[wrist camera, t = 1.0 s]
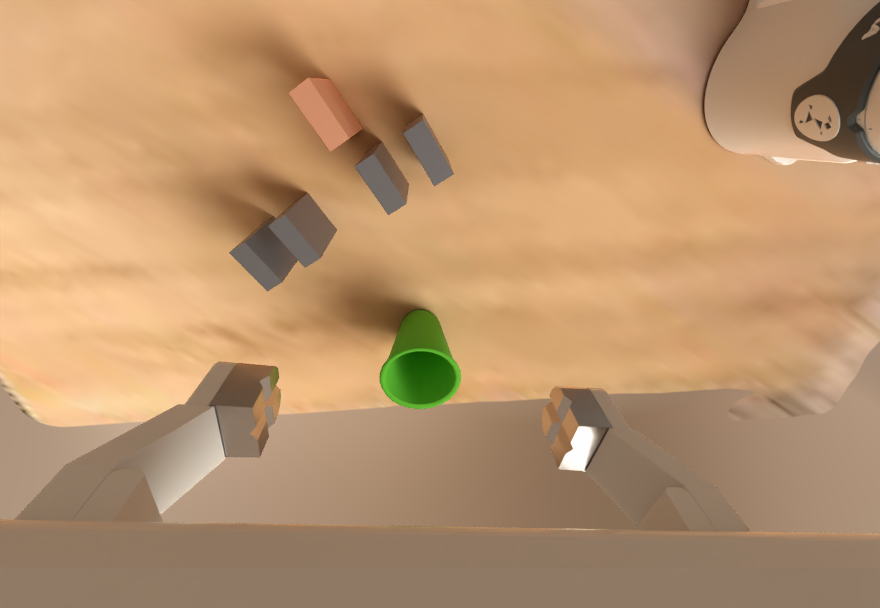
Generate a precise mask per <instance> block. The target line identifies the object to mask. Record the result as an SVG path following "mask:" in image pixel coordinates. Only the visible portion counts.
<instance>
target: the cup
mask: <svg viewBox="0 0 880 608" xmlns="http://www.w3.org/2000/svg"><path fill="white" fill-rule="evenodd" d="M460 381H461V373H460V369H459V367H458V365H457V363H456V362H455V361H454V360H453V358H452V355H451V353H450V350H449V347H448V345H447V342H446V339H445V336H444V334H443V331H442V328H441V326H440V323H439V321H438V319H437V317H436V316H435V315H433V314H432V313H431V312H428V311H426V310H416V311H413V312H410V313H409V314H408V315H406V316H405V317H404V319H403V320H402V323H401V326H400V328H399V331H398V334H397V337H396V339H395V342H394V345H393V347H392V350H391V353H390V356H389V358H388V360H387V361H386V362H385V363H384V365H383V366H382V369H381V372H380V384H381V387H382V389H383V391H384V392H385V394H386V395H387V396H388V397H389V398H390V399H391V400H392V401H394V402H396V403H397V404H399V405H402V406H405V407H408V408H415V409H426V408H431V407H435V406H438V405H440V404H443V403H444V402H446V401H447V400H449V399H450V398H451V397H452V396H453V395H454V394H455V393H456V391H457V389H458V387H459V385H460Z"/></svg>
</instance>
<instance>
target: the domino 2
mask: <svg viewBox="0 0 880 608" xmlns="http://www.w3.org/2000/svg"><path fill="white" fill-rule="evenodd" d="M289 95H290V96H291V97H292V99H293V100H294V102H295V103H296V104H297V106H298V107H299V109H300V110H301V111H302V113H303V114H304V116H305V117H306V118H307V120H308V121H309V123H310V124H311V126H312V127H313V128H314V130H315V131H316V133H317V134H318V135H319V137H320V138H321V140H322V141H323V142H324V144H325V145H326V147H327V148H328V149H329V151H330V152H331V151H332V150H334V149H335V148H337V147H338V146H339V145H341V144H342V143H344V142H345V141H346V140H348V139H349V138H351V137H352V136H353V135H355V134H356V133H358V132H359V131H360V130H362V127H361V126H360V124H359V123H358V121H357V119H356V118H355V116H354V115H353V113H352V112H351V110H350V109H349V107H348V106H347V104H346V102H345V101H344V99H343V98H342V96H341V95H340V93H339V92H338V90H337V89H336V87H335V85H334V84H333V82H332V81H331V79H320V78H307V79H306V80H304V81H303V82H302V83H301V84H299V85H298V86H297V87H296V88H294V89H293V90H292V91H290V92H289Z"/></svg>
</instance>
